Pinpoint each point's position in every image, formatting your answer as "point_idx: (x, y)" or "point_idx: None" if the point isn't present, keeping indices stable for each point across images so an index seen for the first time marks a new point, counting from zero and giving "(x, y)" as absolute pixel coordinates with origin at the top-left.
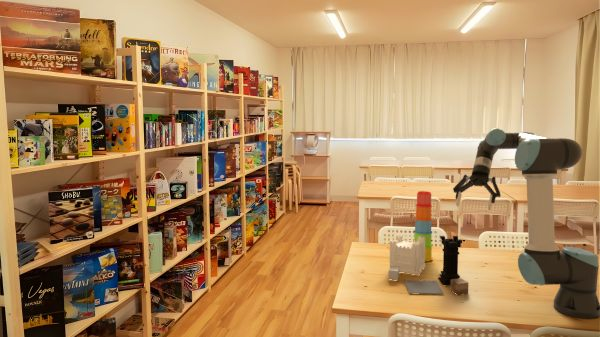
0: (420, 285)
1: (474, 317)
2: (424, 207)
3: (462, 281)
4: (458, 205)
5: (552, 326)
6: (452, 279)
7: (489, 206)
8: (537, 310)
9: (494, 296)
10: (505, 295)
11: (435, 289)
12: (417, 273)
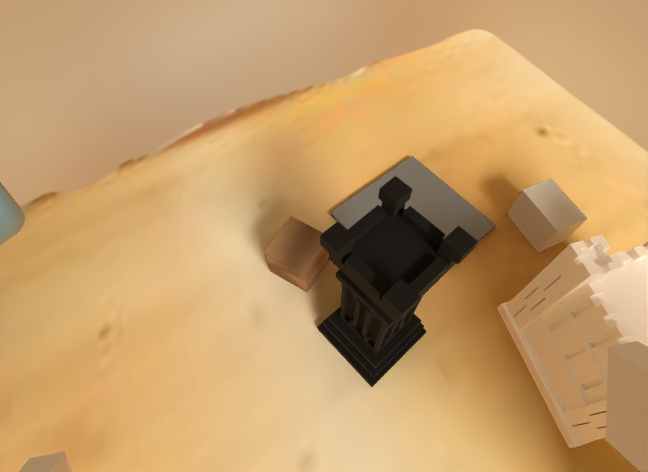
0: None
1: (202, 145)
2: None
3: (286, 246)
4: (611, 420)
5: None
6: None
7: (32, 465)
8: (40, 289)
9: (185, 308)
10: (151, 344)
11: None
12: (505, 302)
